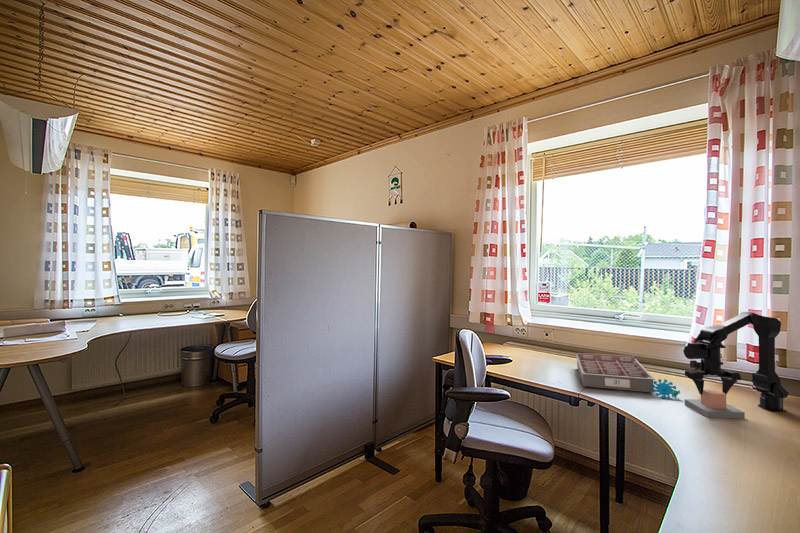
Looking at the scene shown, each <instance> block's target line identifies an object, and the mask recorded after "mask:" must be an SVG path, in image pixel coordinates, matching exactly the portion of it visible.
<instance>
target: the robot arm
mask: <svg viewBox="0 0 800 533" xmlns="http://www.w3.org/2000/svg"><path fill="white" fill-rule="evenodd" d="M747 325H752V328H753V330H754V332H755V333H756V335H757V337H758V370H757V371H756V372H752V374H751V377H752V378H751V382H752V384H753V386H754V388H755V390H756V392H758V393H760V397H759V404H757V406H758V407H760V408H763V409H765V410H767V411H769V412H787V409H785V408H784V399H786V398H788V396H789V392H788V390H787V389H786V388H784V386H782V382H781V378H780V377H779V375H778V374H777V372H776V338H777V336H778V335H779V334H780V333H781V327H782V322H781V321H780V320H779V318H777V317H772V316H764V315H761V314H757V313H755V312H749V311H741V312H740V314H737V315H736V316H734V317H732V318H730V319H728V320H726V321H724V322H722V323H720V324H717V325H712V326H707V327H706V326H705V327H703V328H702V329H700V331H699V334H698V335H697V336H696V338H695V339H694V340H693V342H687V345H686V346H684V347H683V348H684V349H683V355H684V356H685V358H686V359H688V360H689V367H690V369H685V371H684V376H685V377H687V378H688V379H690V380H692V382H693V383H694V384H695V386H696V389H697V391H698V393H699V395H700V396H701V395H702V394H703V389H705V388H704V385H705V380H704V378H709V377H710V378H720V379H721V382H722V383H721V384H722V386H721V387H722V391H721V392H723V393H725V394H726V395H727V394H728V393H729V391H730V390H731V388H732V387H733V386H734V384H736V383H738V381H741V380H742V375H741V374H740V372H737V371H734V370H732V369H722V366H724V362H723V361H722V357H721V355H722V354H721V349H726V345H724V344H723V342H725V341H726V339H728V336H729V335H731V334H732V333H733V332H734V333H735V331H738V330H740V329H742V328H744V327H746V326H747ZM697 360H700V361H699V362H698V361H697Z"/></svg>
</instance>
